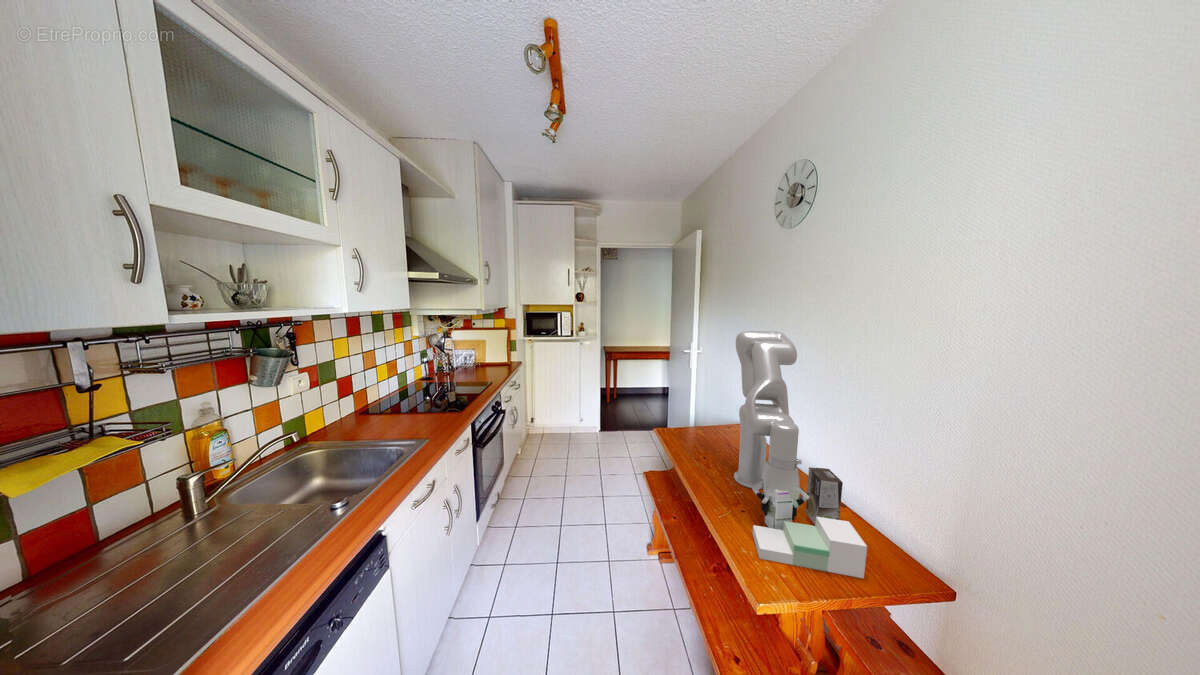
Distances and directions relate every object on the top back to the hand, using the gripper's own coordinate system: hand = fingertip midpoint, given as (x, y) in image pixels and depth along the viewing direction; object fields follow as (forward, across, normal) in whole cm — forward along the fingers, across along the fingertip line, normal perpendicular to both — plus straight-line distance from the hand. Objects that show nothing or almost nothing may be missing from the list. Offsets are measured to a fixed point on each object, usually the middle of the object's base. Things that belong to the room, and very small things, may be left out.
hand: (778, 514), depth 104 cm
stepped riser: (+5, -4, +10) cm, 12 cm away
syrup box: (+5, 0, 0) cm, 5 cm away
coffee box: (+5, -15, -8) cm, 18 cm away
